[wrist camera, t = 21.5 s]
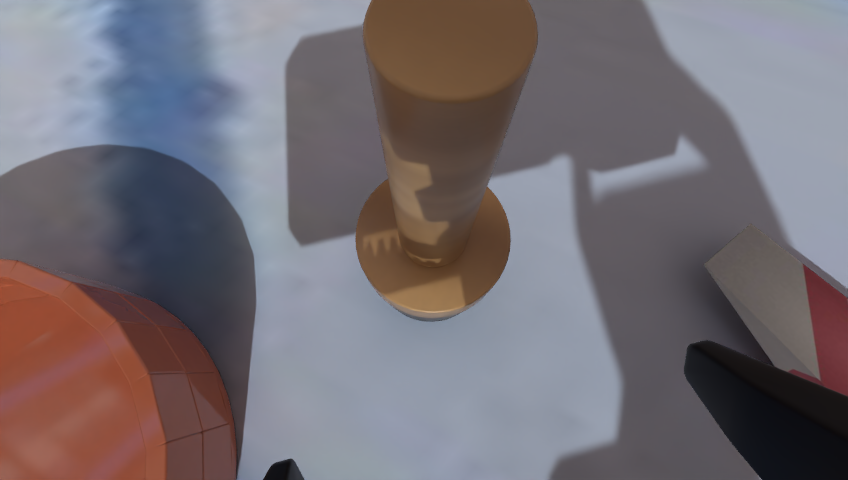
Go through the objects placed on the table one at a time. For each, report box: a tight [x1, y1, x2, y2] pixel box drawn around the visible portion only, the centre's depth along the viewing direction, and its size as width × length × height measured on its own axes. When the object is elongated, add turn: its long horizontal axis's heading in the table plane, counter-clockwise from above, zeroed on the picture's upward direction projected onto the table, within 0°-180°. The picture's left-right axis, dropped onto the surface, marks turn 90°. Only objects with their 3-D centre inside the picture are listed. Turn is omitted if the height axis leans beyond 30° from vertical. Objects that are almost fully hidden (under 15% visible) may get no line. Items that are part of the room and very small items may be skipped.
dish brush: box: [356, 0, 538, 321], centre depth 11 cm, size 5×5×13 cm
